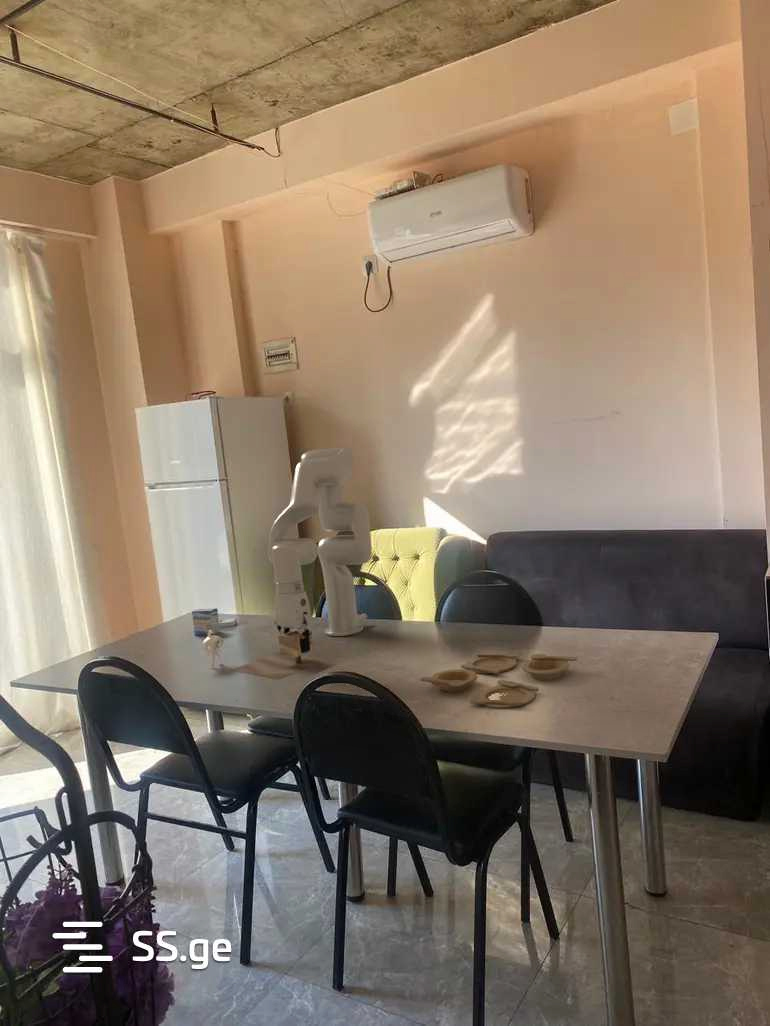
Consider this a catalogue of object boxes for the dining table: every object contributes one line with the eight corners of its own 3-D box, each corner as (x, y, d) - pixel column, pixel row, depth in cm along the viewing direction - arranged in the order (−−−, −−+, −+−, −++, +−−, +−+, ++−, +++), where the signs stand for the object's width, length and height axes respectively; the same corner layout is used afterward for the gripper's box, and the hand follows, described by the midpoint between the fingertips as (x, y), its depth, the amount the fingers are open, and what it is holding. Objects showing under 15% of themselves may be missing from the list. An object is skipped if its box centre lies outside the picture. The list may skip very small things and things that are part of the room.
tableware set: (485, 655, 207) (484, 641, 207) (585, 668, 188) (584, 652, 188) (407, 697, 180) (406, 681, 180) (515, 717, 162) (513, 699, 161)
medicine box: (194, 635, 263) (191, 611, 262) (200, 632, 267) (197, 608, 266) (214, 635, 261) (211, 610, 260) (220, 631, 265) (217, 607, 264)
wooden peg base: (278, 656, 225) (275, 625, 224) (326, 664, 213) (322, 631, 212) (231, 675, 212) (226, 642, 211) (279, 684, 199) (274, 649, 198)
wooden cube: (297, 647, 217) (295, 629, 216) (313, 650, 213) (311, 631, 212) (280, 654, 212) (278, 635, 211) (296, 657, 208) (294, 637, 207)
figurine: (210, 675, 214) (204, 634, 213) (201, 673, 217) (196, 632, 215) (230, 668, 219) (225, 627, 218) (222, 666, 222) (217, 626, 221)
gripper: (321, 586, 208) (328, 649, 209) (278, 583, 219) (285, 643, 221) (301, 592, 202) (309, 657, 204) (258, 588, 213) (266, 650, 215)
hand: (297, 649), depth 212 cm, fingers closed on wooden cube, 6 cm apart
